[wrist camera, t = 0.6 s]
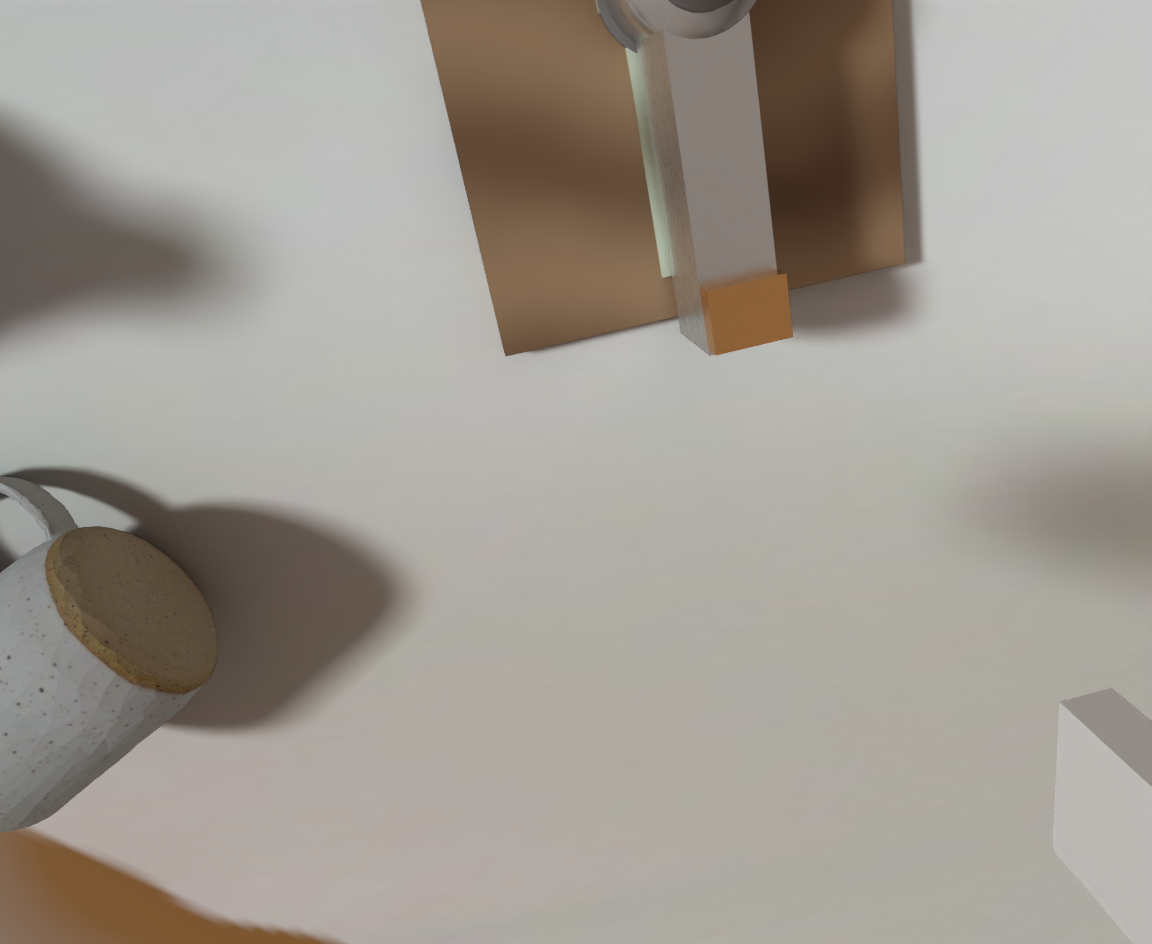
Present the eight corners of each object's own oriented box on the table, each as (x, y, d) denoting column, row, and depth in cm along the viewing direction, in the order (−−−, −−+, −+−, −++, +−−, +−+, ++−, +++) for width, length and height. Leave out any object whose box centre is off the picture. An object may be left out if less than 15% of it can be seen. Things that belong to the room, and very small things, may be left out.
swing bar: (591, -83, 25) (619, -125, 21) (720, -109, 26) (770, -155, 22) (660, 337, 30) (693, 366, 26) (767, 312, 31) (816, 337, 27)
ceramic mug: (255, 613, 34) (201, 736, 26) (102, 732, 34) (11, 883, 27) (33, 413, 30) (-100, 493, 23) (-132, 552, 31) (-309, 671, 24)
